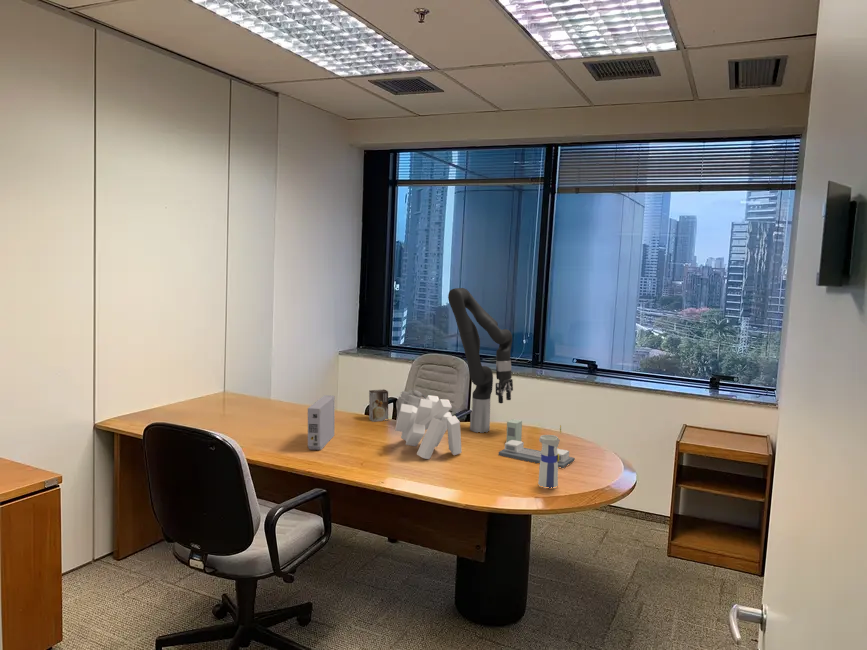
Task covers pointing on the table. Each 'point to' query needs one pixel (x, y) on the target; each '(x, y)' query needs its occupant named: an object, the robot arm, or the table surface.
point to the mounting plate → (532, 453)
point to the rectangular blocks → (518, 445)
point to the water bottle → (549, 461)
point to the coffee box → (378, 405)
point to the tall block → (514, 430)
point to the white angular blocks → (429, 425)
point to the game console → (321, 422)
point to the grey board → (531, 459)
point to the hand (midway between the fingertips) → (504, 401)
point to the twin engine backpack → (409, 399)
